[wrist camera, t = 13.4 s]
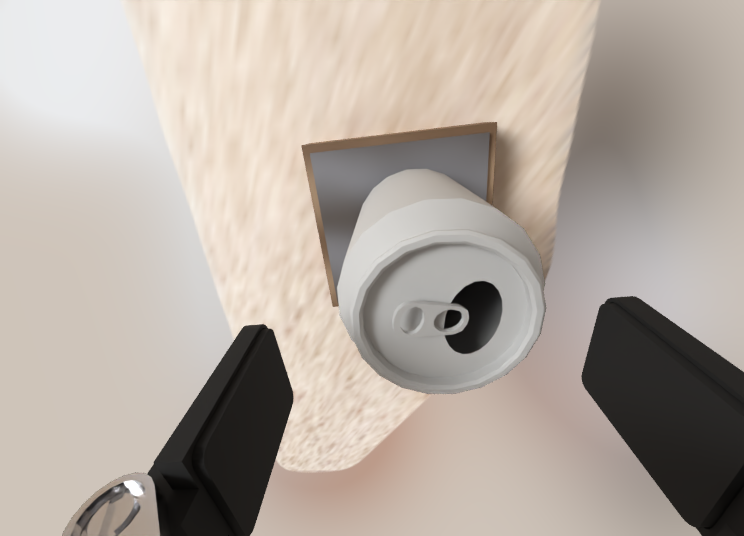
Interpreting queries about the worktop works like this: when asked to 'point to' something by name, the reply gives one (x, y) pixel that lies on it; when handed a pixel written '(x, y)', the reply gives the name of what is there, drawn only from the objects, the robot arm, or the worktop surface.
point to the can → (439, 285)
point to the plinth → (382, 159)
